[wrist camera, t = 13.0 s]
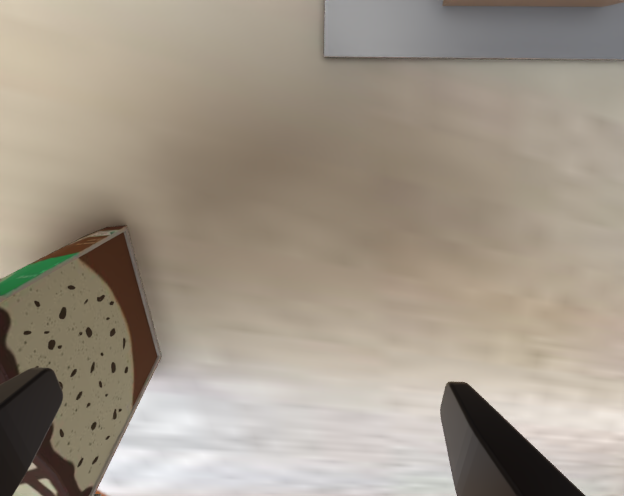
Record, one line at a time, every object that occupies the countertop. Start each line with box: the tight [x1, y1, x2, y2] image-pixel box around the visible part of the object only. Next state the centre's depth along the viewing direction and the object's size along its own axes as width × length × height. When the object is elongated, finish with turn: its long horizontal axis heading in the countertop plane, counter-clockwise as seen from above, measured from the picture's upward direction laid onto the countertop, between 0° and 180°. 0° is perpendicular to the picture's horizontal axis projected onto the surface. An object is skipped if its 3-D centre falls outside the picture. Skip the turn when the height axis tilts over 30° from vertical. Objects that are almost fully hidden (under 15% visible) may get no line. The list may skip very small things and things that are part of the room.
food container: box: [0, 225, 162, 496], centre depth 18 cm, size 12×6×10 cm, turn 1°
